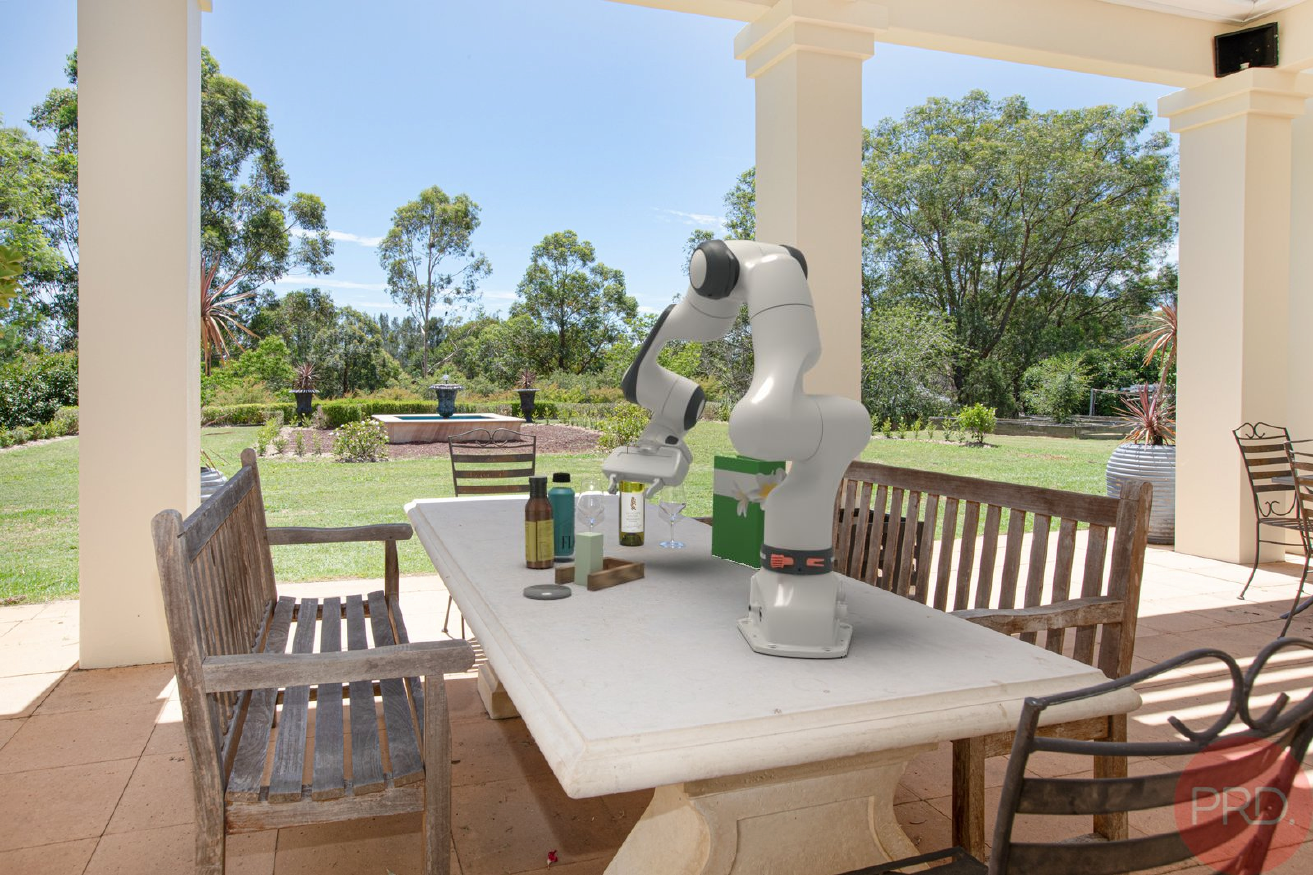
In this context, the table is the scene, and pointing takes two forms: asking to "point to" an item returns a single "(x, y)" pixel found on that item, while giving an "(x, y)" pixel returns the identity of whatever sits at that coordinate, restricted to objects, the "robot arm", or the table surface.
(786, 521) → the robot arm
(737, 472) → the green gift bag
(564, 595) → the coaster
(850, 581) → the table surface
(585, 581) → the block
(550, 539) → the sauce bottle
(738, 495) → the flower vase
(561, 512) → the beverage bottle
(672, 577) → the table surface
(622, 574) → the channel
